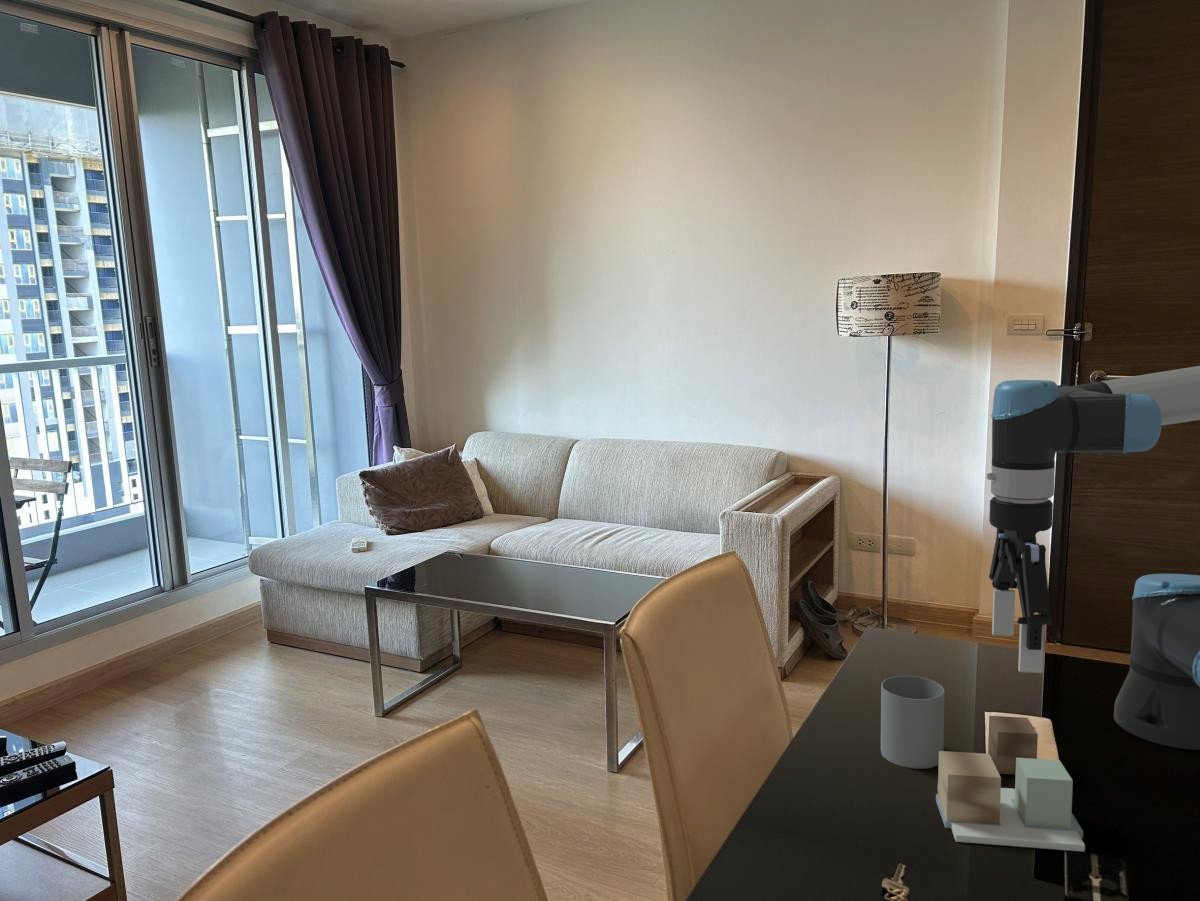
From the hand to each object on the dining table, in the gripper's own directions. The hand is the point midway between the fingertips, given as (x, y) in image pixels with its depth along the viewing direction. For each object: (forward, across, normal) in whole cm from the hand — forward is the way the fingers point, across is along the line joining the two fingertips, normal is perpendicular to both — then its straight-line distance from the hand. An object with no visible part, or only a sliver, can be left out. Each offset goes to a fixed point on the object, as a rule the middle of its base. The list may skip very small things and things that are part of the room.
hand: (1015, 652), depth 119 cm
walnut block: (+16, 0, 0) cm, 16 cm away
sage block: (+16, +14, 0) cm, 21 cm away
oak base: (+16, +14, -9) cm, 22 cm away
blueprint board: (+16, +14, -4) cm, 22 cm away
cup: (+17, -2, -13) cm, 21 cm away
